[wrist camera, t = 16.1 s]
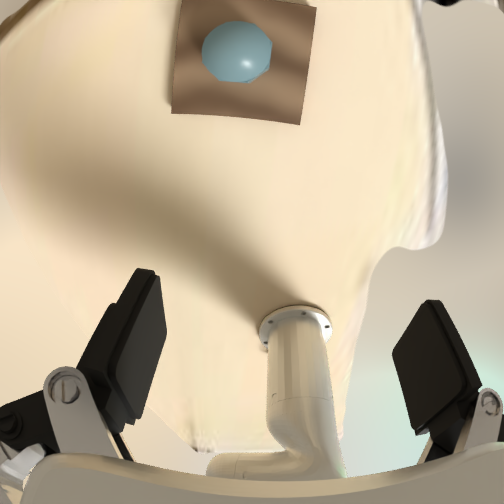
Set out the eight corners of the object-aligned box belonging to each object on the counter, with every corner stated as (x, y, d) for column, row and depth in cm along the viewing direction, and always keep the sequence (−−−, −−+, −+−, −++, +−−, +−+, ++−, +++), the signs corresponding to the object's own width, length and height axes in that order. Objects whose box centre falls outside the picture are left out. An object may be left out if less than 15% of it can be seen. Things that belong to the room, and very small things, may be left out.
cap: (266, 85, 26) (266, 85, 22) (209, 80, 26) (198, 80, 22) (273, 33, 22) (274, 24, 18) (215, 29, 22) (205, 20, 18)
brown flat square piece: (298, 123, 29) (299, 125, 28) (175, 112, 29) (171, 113, 28) (314, 10, 22) (316, 7, 20) (186, 1, 21) (182, -2, 20)
